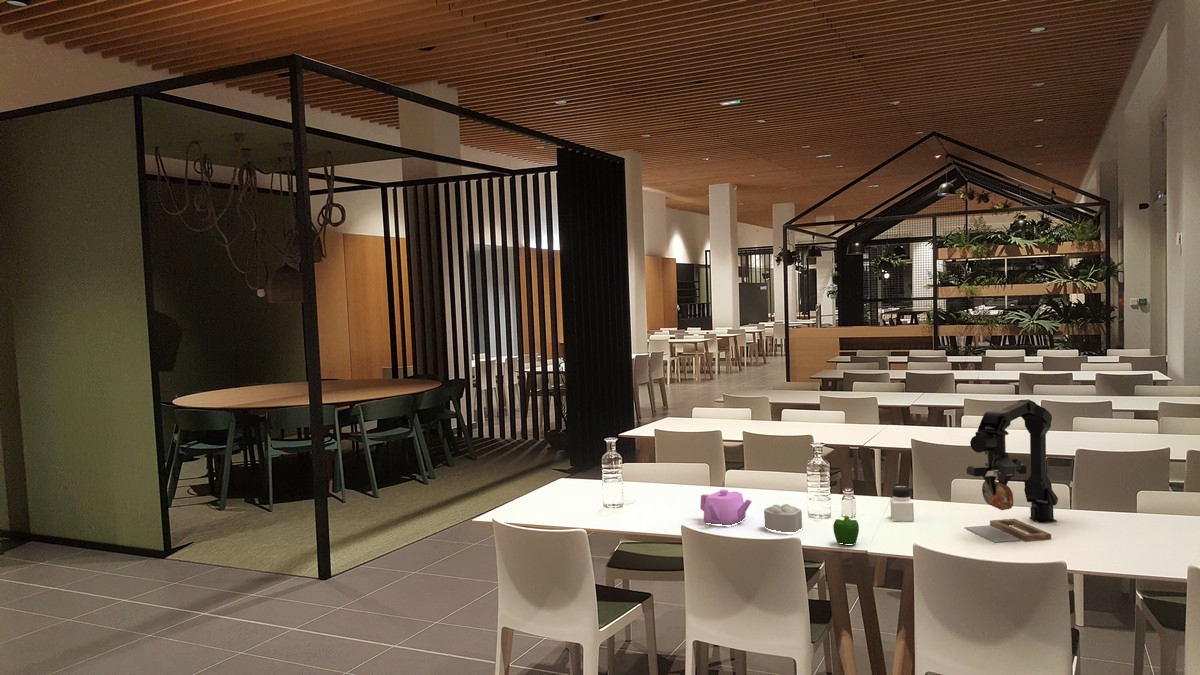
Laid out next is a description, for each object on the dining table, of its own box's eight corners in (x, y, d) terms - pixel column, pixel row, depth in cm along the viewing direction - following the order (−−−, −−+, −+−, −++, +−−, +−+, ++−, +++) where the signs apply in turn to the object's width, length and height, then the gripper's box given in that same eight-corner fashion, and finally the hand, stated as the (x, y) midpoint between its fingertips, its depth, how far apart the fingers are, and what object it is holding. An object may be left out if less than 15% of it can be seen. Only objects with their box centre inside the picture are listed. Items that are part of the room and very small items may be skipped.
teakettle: (738, 515, 331) (737, 483, 331) (754, 525, 314) (752, 492, 314) (696, 519, 328) (695, 487, 328) (710, 530, 311) (709, 496, 311)
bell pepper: (835, 539, 290) (834, 510, 290) (860, 541, 287) (859, 512, 287) (832, 546, 282) (831, 516, 282) (857, 548, 279) (856, 518, 279)
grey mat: (988, 526, 297) (988, 525, 297) (1020, 540, 278) (1020, 539, 278) (964, 528, 296) (964, 527, 296) (994, 542, 277) (994, 541, 277)
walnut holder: (1014, 523, 299) (1014, 518, 299) (1051, 539, 278) (1051, 534, 278) (990, 525, 298) (989, 520, 298) (1025, 541, 277) (1025, 536, 277)
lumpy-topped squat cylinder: (793, 535, 298) (792, 511, 298) (759, 531, 306) (758, 507, 306) (805, 528, 306) (804, 504, 306) (771, 524, 314) (770, 501, 314)
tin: (982, 501, 294) (979, 478, 294) (991, 500, 294) (988, 476, 294) (1007, 513, 279) (1004, 488, 279) (1016, 511, 279) (1013, 487, 279)
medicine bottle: (914, 521, 308) (912, 489, 308) (893, 521, 309) (892, 489, 309) (910, 516, 315) (909, 484, 315) (890, 516, 316) (889, 485, 316)
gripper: (983, 454, 277) (984, 501, 278) (1036, 451, 279) (1038, 498, 279) (965, 449, 288) (966, 494, 289) (1017, 446, 290) (1018, 491, 290)
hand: (997, 494), depth 286 cm, fingers closed on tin, 2 cm apart
